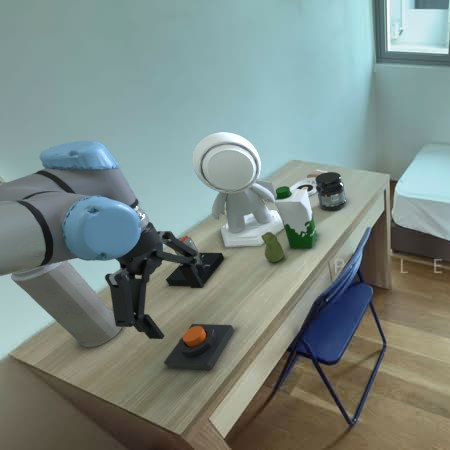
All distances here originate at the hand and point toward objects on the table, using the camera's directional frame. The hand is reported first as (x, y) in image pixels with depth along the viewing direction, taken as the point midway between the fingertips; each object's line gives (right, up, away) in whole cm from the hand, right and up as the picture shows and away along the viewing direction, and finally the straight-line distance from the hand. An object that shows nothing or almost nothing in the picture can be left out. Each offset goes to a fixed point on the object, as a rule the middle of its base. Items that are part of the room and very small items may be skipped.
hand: (179, 310), depth 66 cm
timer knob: (-13, +6, +25) cm, 29 cm away
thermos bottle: (-26, -8, +10) cm, 29 cm away
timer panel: (-13, +4, +26) cm, 30 cm away
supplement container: (+21, +26, +56) cm, 65 cm away
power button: (+2, -7, +3) cm, 8 cm away
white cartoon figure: (-5, +17, +44) cm, 47 cm away
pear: (+9, +8, +30) cm, 32 cm away
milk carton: (+16, +13, +37) cm, 42 cm away
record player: (+8, +35, +69) cm, 78 cm away
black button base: (+2, -10, +5) cm, 11 cm away
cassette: (-8, +30, +63) cm, 70 cm away
